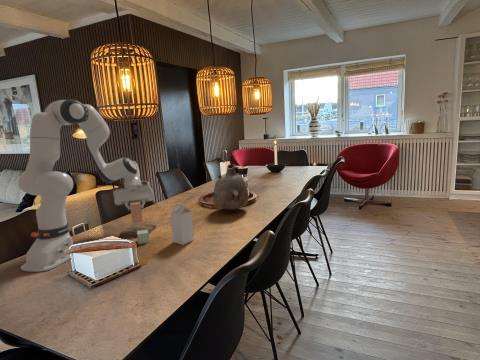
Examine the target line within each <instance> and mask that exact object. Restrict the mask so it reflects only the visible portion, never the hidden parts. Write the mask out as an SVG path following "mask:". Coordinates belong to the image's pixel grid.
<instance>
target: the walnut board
mask: <svg viewBox="0 0 480 360" xmlns="http://www.w3.org/2000/svg"><path fill="white" fill-rule="evenodd" d="M156 228H157V225H156V224H131V225H130V226H128V227H127V228H126V229H124V230H122V231H121V232H120V233H119V235H118V236H119V238H138V235H137V231H142V230H148V235H150V234H151V233H152V232H153V231H154V230H155V229H156Z"/></svg>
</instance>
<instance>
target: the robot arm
mask: <svg viewBox="0 0 480 360" xmlns="http://www.w3.org/2000/svg"><path fill="white" fill-rule="evenodd" d="M71 125H78V126H79V127H80V129H81V130H82V131H83V133H84V135H85V137H86V141H85V147H86V150H87V153H88V155H89V156H90V158H91V160H92V162H93V165H94V166H95V168H96V170H97V172H98V173H97V174H98V176H99V178H100V179H101V181H103V182H105V183H107V184H112V183H113V182H116V181H117V180H120V179H122V178H123V179H124V181H123V182H124V184H123V185H124V187H120V188H116V189H114V190H113V191H112V195H113V197H114V198H113V199H114V204H115V205H116V206H120V205H121V206H122V205H124V206H125V207H126V208H127V211H131V207H130V202H137V201H140V205H141V210H142V209H144V206H145V204H146V202H152V201H154V199H155V194H154V190H153V187H151V185H150V184H151V183H150V182H149V181H144V180H141V172H140V168H139V165H138V163H137V161H135V160H133V159H131V158H129V157H125V156H124V157H121V158H118V159H115V160H114V161H111V162H108V163H107V162H105V161H104V158H103V156H102V154H101V153H100V148H101V146H103V145H104V143H106V141H107V140H108V139H109V136H110V134H111V133H110V130H111V129H110V128H109V125H108V123H107V122H106V120H104V118H103V117H102V115H101V114H100V113H99V111H98V110H96V108H95V107H93V106H92V104H87V103H84V104H83V103H82V102H80V101H79V100H76V99H71V98H70V99H58V100H56V101H55V100H54V101H51V102H49V103H48V104H46V105H45V107H44V108H43V110H42V112H38V113H35V114H34V115H33V116H32V118H31V123H30V128H29V129H30V132H29V159H28V162H27V165H26V168H25V170H24V172H23V173H22V174H21V175H20V177H19V178H18V187H19V190H21V191H22V192H24V193H26V194H28V195H31V196H40V198H41V199H40V204H39V207H38V208H37V209H36V211H35V216H36V221H37V226H38V228H37V231H36V232H34V231H33V232H31V234H30V237H32V238H36V240H35V241H34V242H33V243H32V245H31V246H30V248H29V250H28V251H27V252H26V254H25V257H26V262H24V263H23V264H22V265H21V266H20V270H21V271H24V272H31V273H32V272H34V273H35V272H37V273H38V272H45V271H49V270H52V269H54V268H56V267H58V266H60V265H62V264H63V263H66V262H68V261H70V260H71V259H70V255H69V254H65V253H64V251H65V250H67V249H68V248H69V247H70V246H71V245H74V241H73V237H72V236H71V234H70V225H69V222H68V221H67V213H66V212H67V211H66V201H67V198H68V195H70V193H71V192H72V190H73V188H74V181H73V180H74V179H73V178H72V177H71V176H70V175H69V174H68V173H65V172H63V171H58V170H57V171H56V170H55V171H54V170H53V169H54V166H55V164H56V162H57V161H59V159H60V158H61V128H62V127H63V126H71Z"/></svg>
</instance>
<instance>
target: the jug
mask: <svg viewBox="0 0 480 360" xmlns="http://www.w3.org/2000/svg"><path fill="white" fill-rule="evenodd" d="M213 200H214V201H213V202H214V204H215V205H214V206H215V207H217V208H220V209H225V210H228V211H230V212H231V211H232V212H234V211H235V210H237V209H240V208H243V207H244V206H246V205H247V204H248V202H249V190H248V186H247V183H246V181H245V179H244V178H243V177H242V176H241V175H239V174H237V172H236V165H235V163H231V164H227V167H226V173H224V174H218V176H217V179H216V182H215V183H214V189H213Z"/></svg>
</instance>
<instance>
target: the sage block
mask: <svg viewBox="0 0 480 360" xmlns="http://www.w3.org/2000/svg"><path fill="white" fill-rule="evenodd" d="M137 235H138V237H137V241H138V245H143V244H147V243H150V237H149V234H148V230H142V231H137Z"/></svg>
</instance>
